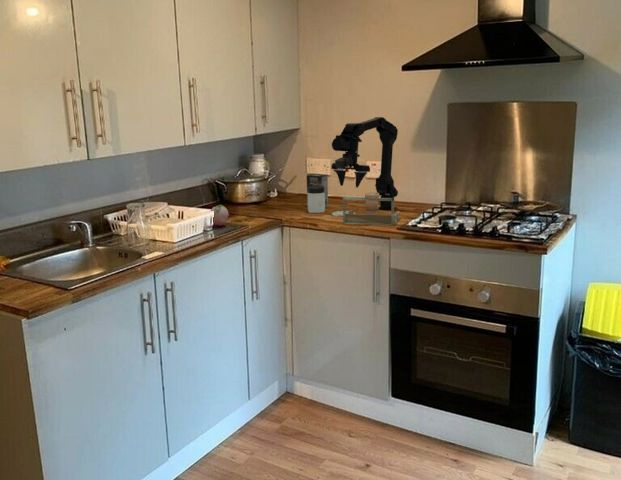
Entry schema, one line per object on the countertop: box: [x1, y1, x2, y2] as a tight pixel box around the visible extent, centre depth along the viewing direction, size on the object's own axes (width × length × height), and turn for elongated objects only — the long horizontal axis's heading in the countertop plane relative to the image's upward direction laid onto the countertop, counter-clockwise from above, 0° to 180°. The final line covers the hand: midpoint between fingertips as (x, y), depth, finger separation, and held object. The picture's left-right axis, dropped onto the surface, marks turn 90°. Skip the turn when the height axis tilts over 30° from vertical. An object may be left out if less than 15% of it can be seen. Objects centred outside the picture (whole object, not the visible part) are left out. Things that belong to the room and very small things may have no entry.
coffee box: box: [306, 173, 329, 208], centre depth 318 cm, size 9×6×16 cm
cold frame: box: [342, 196, 401, 227], centre depth 277 cm, size 16×22×12 cm
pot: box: [364, 192, 380, 215], centre depth 277 cm, size 6×6×12 cm
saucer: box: [331, 210, 356, 217], centre depth 297 cm, size 11×11×1 cm
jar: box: [306, 186, 326, 214], centre depth 305 cm, size 9×8×12 cm
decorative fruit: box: [210, 204, 229, 227], centre depth 278 cm, size 9×8×10 cm
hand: (349, 186), depth 288 cm, fingers open, 9 cm apart
